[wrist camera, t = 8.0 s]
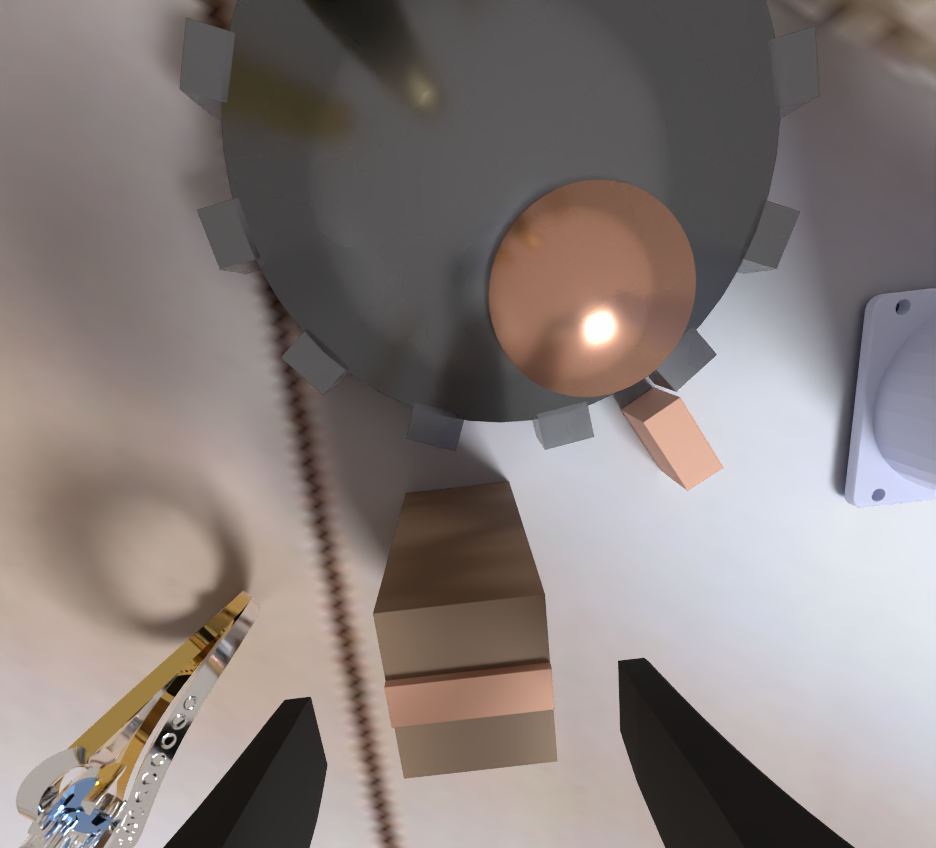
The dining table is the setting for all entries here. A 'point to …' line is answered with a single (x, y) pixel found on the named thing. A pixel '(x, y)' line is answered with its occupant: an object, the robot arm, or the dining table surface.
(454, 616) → the wooden block
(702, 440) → the peach rectangular prism
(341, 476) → the dining table surface
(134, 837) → the ring
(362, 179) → the sprocket
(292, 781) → the robot arm
